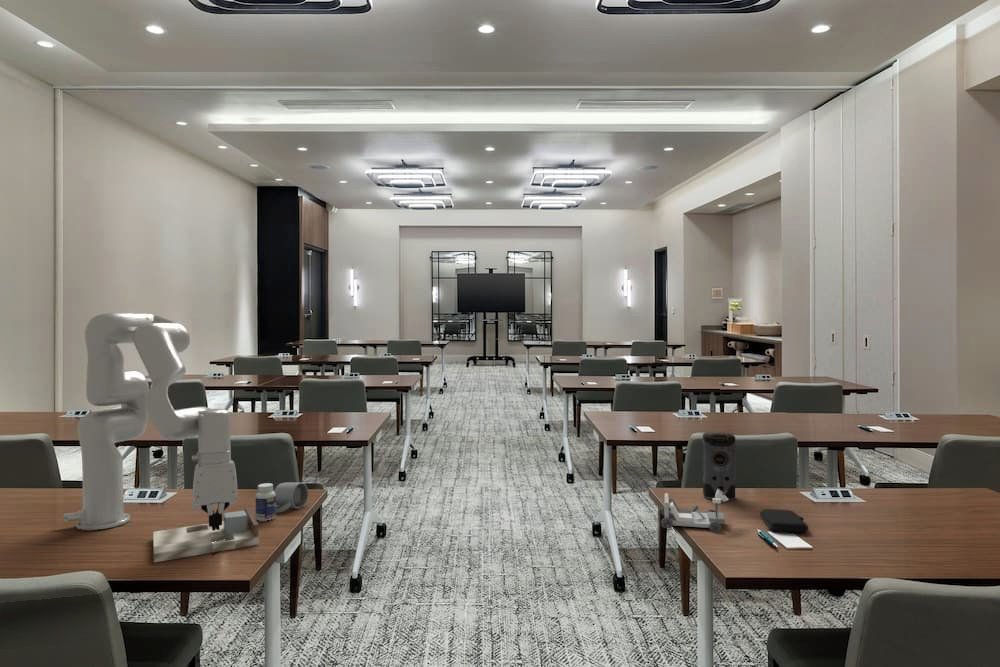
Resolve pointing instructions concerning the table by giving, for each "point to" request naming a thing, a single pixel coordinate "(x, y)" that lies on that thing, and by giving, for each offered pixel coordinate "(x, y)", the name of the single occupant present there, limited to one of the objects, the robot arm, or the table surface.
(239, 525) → the block
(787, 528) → the carrying case or bag
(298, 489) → the ceramic mug
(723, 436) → the electronic device
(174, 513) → the table surface
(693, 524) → the toy car
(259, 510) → the pill bottle
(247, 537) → the board
